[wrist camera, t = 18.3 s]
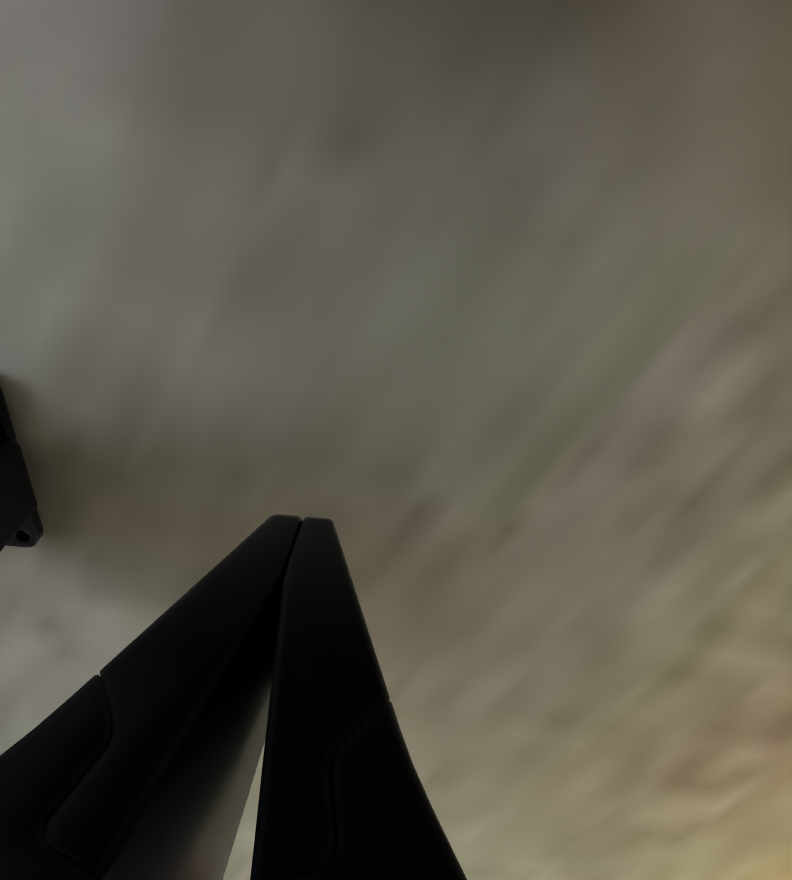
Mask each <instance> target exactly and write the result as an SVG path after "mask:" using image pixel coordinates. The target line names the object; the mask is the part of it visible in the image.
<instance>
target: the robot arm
mask: <svg viewBox="0 0 792 880" xmlns="http://www.w3.org/2000/svg"><path fill="white" fill-rule="evenodd" d="M24 531H25V532H24ZM26 532H27V533H26ZM42 535H43V527H42V524H41V520H40V517H39V514H38V510H37V503H36V499H35V496H34V492H33V489H32V486H31V482H30V479H29V475H28V472H27V469H26V465H25V462H24V458H23V455H22V452H21V448H20V446H19V444H18V443H17V439H16V436H15V433H14V429H13V426H12V422H11V419H10V416H9V412H8V409H7V405H6V402H5V399H4V395H3V392H2V389H1V387H0V551H1V550H2V549H3V547H4V546H18V547H32V546H34V545H36V543H37V542H38V541H39V539H40V538H41V537H42ZM100 676H101V677H100ZM100 676H99V675H95V676H94V677H93V678H91V679H90V680H89V681H88V682H87V683H86V684H85V685H84V686H83V687H81V688H80V689H79V690H78V691H77V692H76V693H75V694H74V695H73V696H72V697H70V698H69V699H68V700H67V701H66V702H65V703H63V704H62V705H61V706H60V707H59V708H58V709H56V710H55V711H54V712H53V713H52V714H51V715H50V716H48V717H47V718H46V719H45V720H44V721H43V722H41V723H40V724H39V725H38V726H37V727H36V728H34V729H33V730H32V731H31V732H29V733H28V734H27V735H26V736H24V737H23V738H22V739H21V740H19V741H18V742H17V743H16V744H14V745H13V746H12V747H10V748H9V749H8V750H7V751H5V752H4V753H3V754H2V755H0V880H223V876H224V873H225V870H226V867H227V863H228V860H229V857H230V853H231V850H232V847H233V844H234V840H235V837H236V834H237V830H238V827H239V824H240V820H241V817H242V814H243V811H244V807H245V804H246V801H247V797H248V794H249V791H250V788H251V784H252V781H253V778H254V774H255V771H256V768H257V764H258V761H259V758H260V755H261V751H262V748H263V745H264V741H265V748H264V757H263V766H262V776H261V785H260V794H259V804H258V813H257V822H256V832H255V841H254V850H253V860H252V869H251V878H250V880H467V879H466V876H465V874H464V872H463V870H462V868H461V866H460V864H459V862H458V860H457V858H456V856H455V854H454V852H453V850H452V848H451V846H450V843H449V841H448V839H447V837H446V835H445V833H444V831H443V829H442V827H441V825H440V823H439V821H438V819H437V817H436V815H435V813H434V810H433V808H432V806H431V804H430V802H429V800H428V797H427V795H426V793H425V790H424V788H423V786H422V784H421V781H420V779H419V777H418V775H417V772H416V770H415V768H414V766H413V763H412V760H411V757H410V755H409V752H408V749H407V746H406V744H405V741H404V738H403V735H402V733H401V730H400V727H399V724H398V721H397V718H396V715H395V712H394V709H393V706H392V703H391V702H390V701H389V699H390V698H389V694H388V691H387V688H386V685H385V682H384V679H383V675H382V672H381V669H380V666H379V663H378V660H377V657H376V654H375V650H374V647H373V644H372V641H371V638H370V635H369V632H368V629H367V626H366V622H365V619H364V616H363V613H362V610H361V607H360V604H359V601H358V598H357V594H356V591H355V588H354V585H353V582H352V579H351V576H350V573H349V570H348V566H347V563H346V560H345V557H344V554H343V551H342V548H341V545H340V541H339V538H338V535H337V532H336V529H335V526H334V523H333V521H332V520H330V519H325V518H313V517H306V518H304V519H303V521H302V519H301V518H300V517H299V516H290V515H279V514H276V515H273V516H271V517H269V518H268V519H267V520H266V521H265V522H264V523H263V524H262V525H261V526H260V527H258V528H257V529H256V530H255V531H254V532H253V533H252V534H251V535H250V536H249V537H247V538H246V539H245V540H244V541H243V542H242V543H241V544H240V545H239V546H237V547H236V548H235V549H234V550H233V551H232V552H231V553H230V554H229V555H228V556H226V557H225V558H224V559H223V560H222V561H221V562H220V563H219V564H218V565H217V566H215V567H214V568H213V569H212V570H211V571H210V572H209V573H208V574H207V575H205V576H204V577H203V578H202V579H201V580H200V581H199V582H198V583H197V584H196V585H194V586H193V587H192V588H191V589H190V590H189V591H188V592H187V593H186V594H184V595H183V596H182V597H181V598H180V599H179V600H178V601H177V602H176V603H175V604H173V605H172V606H171V607H170V608H169V609H168V610H167V611H166V612H165V613H164V614H162V615H161V616H160V617H159V618H158V619H157V620H156V621H155V622H154V623H152V624H151V625H150V626H149V627H148V628H147V629H146V630H145V631H144V632H143V633H141V634H140V635H139V636H138V637H137V638H136V639H135V640H134V641H133V642H132V643H130V644H129V645H128V646H127V647H126V648H125V649H124V650H123V651H122V652H120V653H119V654H118V655H117V656H116V657H115V658H114V659H113V660H112V661H111V662H109V663H108V664H107V665H106V666H105V667H104V668H103V669H102V670H101V671H100Z"/></svg>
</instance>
